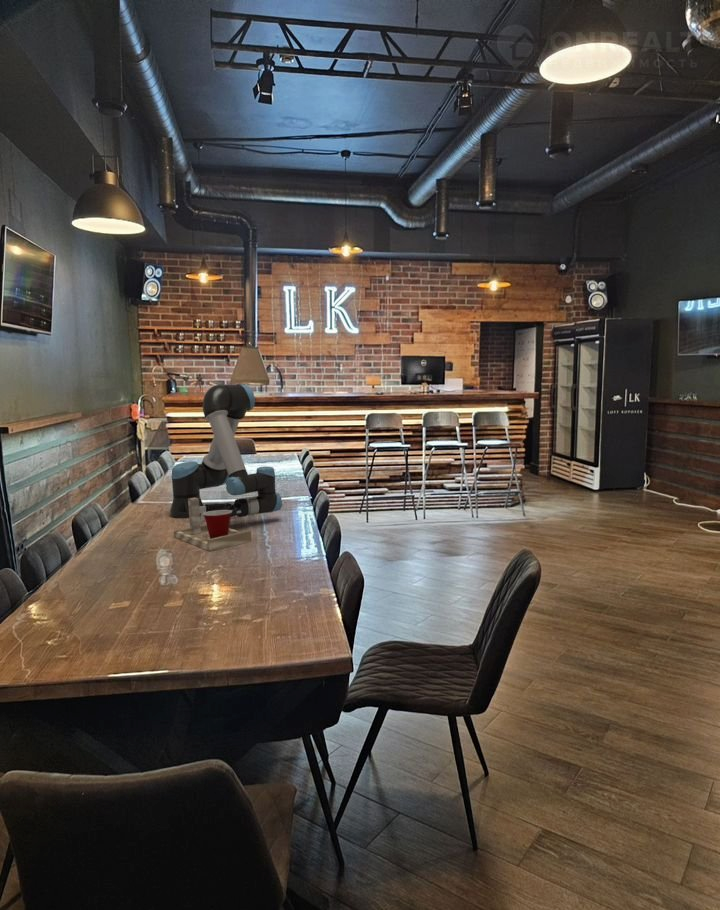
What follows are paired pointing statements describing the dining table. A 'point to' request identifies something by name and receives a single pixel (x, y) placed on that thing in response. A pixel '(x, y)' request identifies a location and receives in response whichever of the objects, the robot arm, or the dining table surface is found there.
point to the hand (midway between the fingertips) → (195, 514)
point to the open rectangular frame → (195, 528)
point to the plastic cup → (217, 522)
